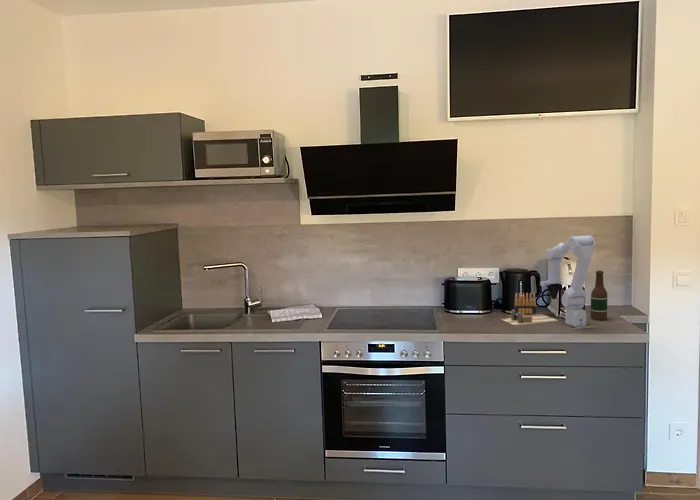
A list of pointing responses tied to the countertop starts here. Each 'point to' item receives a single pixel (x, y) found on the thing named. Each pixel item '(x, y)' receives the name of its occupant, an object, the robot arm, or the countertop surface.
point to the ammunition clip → (525, 304)
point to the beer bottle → (599, 299)
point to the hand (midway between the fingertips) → (553, 298)
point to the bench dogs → (518, 316)
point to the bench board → (535, 319)
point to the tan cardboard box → (524, 318)
